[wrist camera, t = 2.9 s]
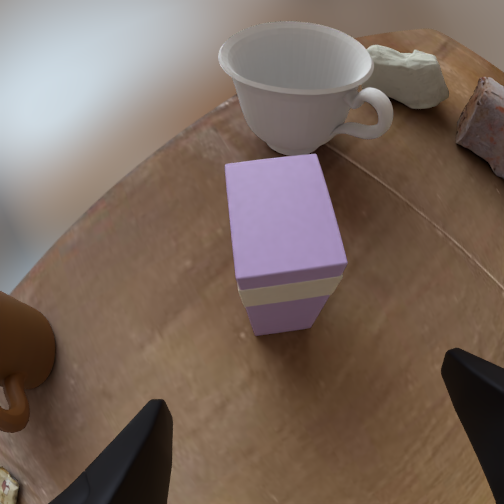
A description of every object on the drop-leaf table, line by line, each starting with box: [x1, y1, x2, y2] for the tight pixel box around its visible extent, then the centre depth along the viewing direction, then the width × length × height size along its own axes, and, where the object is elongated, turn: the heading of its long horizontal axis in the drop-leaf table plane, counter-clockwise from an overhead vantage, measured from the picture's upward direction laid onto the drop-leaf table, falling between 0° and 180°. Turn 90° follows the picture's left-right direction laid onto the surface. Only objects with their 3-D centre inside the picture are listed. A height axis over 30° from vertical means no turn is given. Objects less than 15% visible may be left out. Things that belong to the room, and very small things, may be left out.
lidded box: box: [225, 154, 348, 336], centre depth 17 cm, size 5×4×12 cm
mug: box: [0, 291, 55, 433], centre depth 17 cm, size 12×8×9 cm, turn 42°
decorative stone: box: [362, 45, 449, 109], centre depth 29 cm, size 11×9×10 cm
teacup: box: [218, 21, 393, 156], centre depth 24 cm, size 12×15×10 cm
